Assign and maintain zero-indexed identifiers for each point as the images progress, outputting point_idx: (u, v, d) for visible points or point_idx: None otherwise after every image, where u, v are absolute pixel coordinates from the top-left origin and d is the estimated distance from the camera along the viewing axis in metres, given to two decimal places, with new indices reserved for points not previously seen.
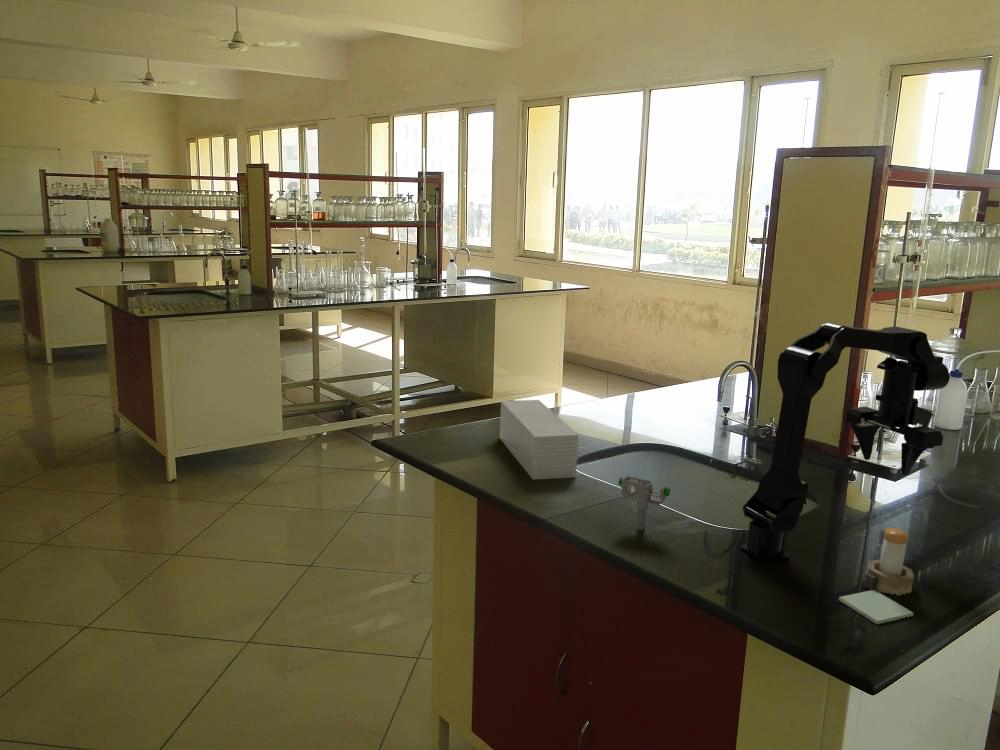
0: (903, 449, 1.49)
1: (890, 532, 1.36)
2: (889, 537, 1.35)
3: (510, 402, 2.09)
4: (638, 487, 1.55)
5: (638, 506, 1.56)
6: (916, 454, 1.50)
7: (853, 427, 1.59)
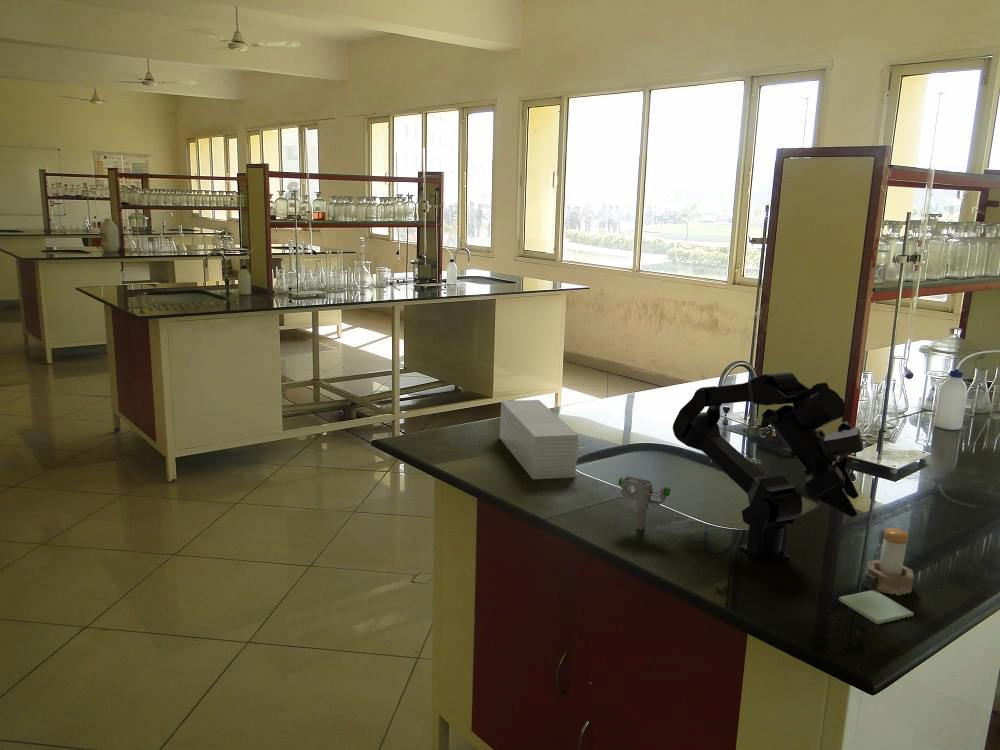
0: None
1: (890, 532, 1.36)
2: (889, 537, 1.35)
3: (510, 402, 2.09)
4: (638, 487, 1.55)
5: (638, 506, 1.56)
6: (840, 495, 1.34)
7: None
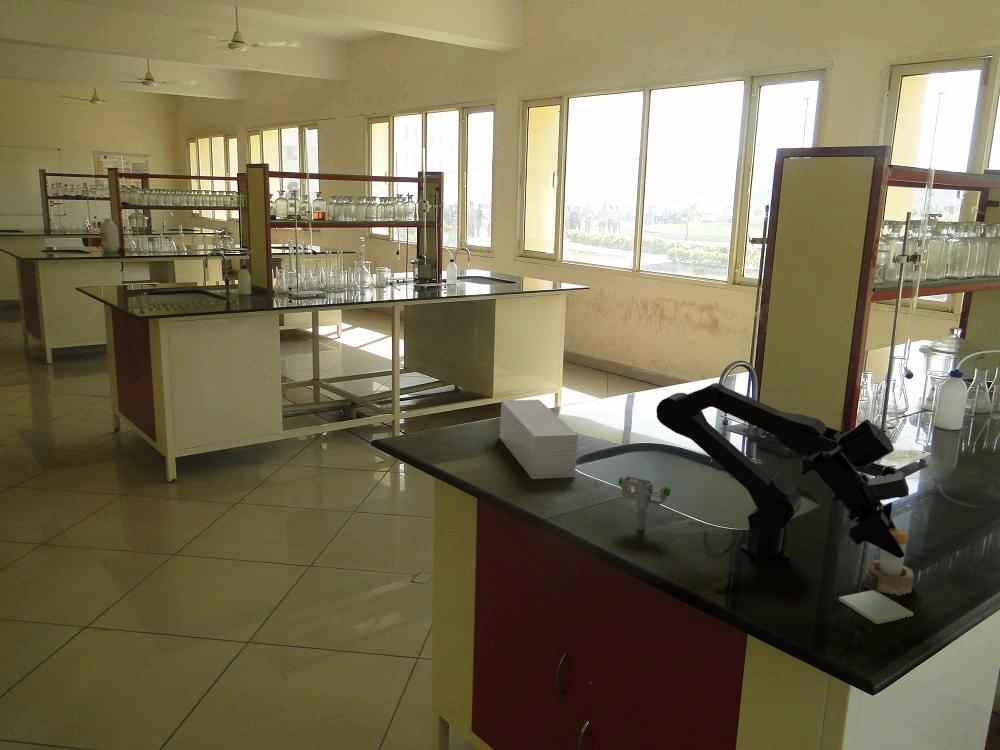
0: None
1: None
2: None
3: (510, 402, 2.09)
4: (638, 487, 1.55)
5: (638, 506, 1.56)
6: (887, 536, 1.34)
7: None
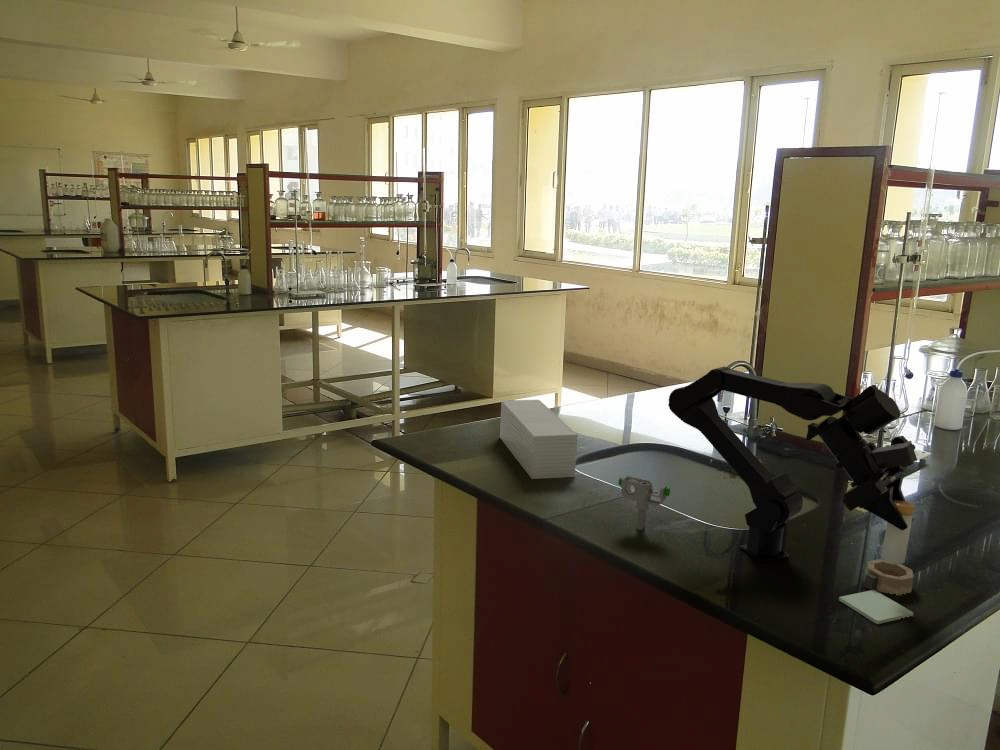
0: None
1: (895, 503, 1.31)
2: None
3: (510, 402, 2.09)
4: (638, 487, 1.55)
5: (638, 506, 1.56)
6: (888, 505, 1.29)
7: None
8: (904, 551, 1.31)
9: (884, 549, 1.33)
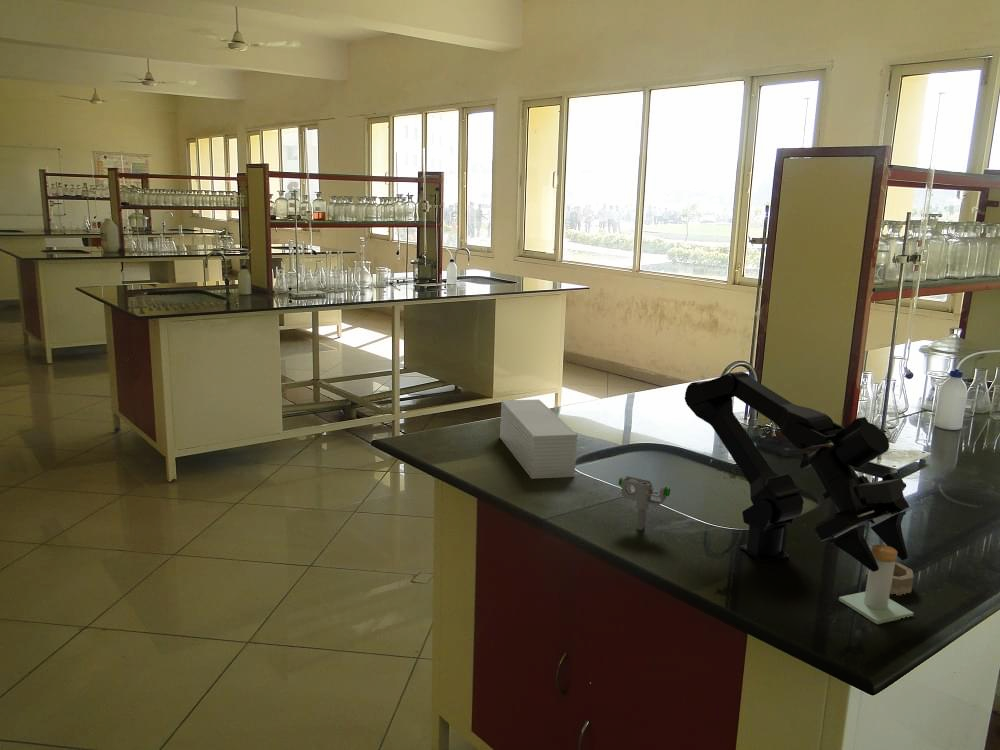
0: None
1: (876, 548, 1.28)
2: (872, 552, 1.27)
3: (510, 401, 2.09)
4: (638, 487, 1.55)
5: (638, 506, 1.56)
6: (858, 544, 1.25)
7: None
8: (884, 598, 1.27)
9: (865, 593, 1.30)
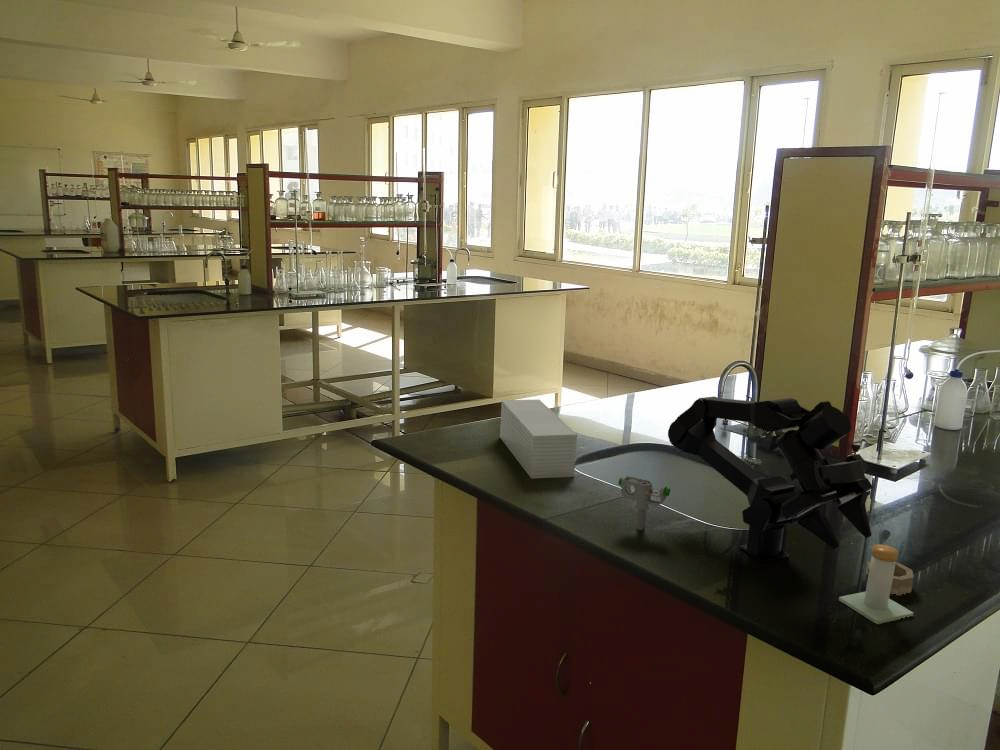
0: None
1: (877, 548, 1.28)
2: (873, 552, 1.27)
3: (510, 401, 2.09)
4: (638, 487, 1.55)
5: (638, 506, 1.56)
6: (820, 523, 1.30)
7: None
8: (884, 598, 1.28)
9: (865, 593, 1.30)
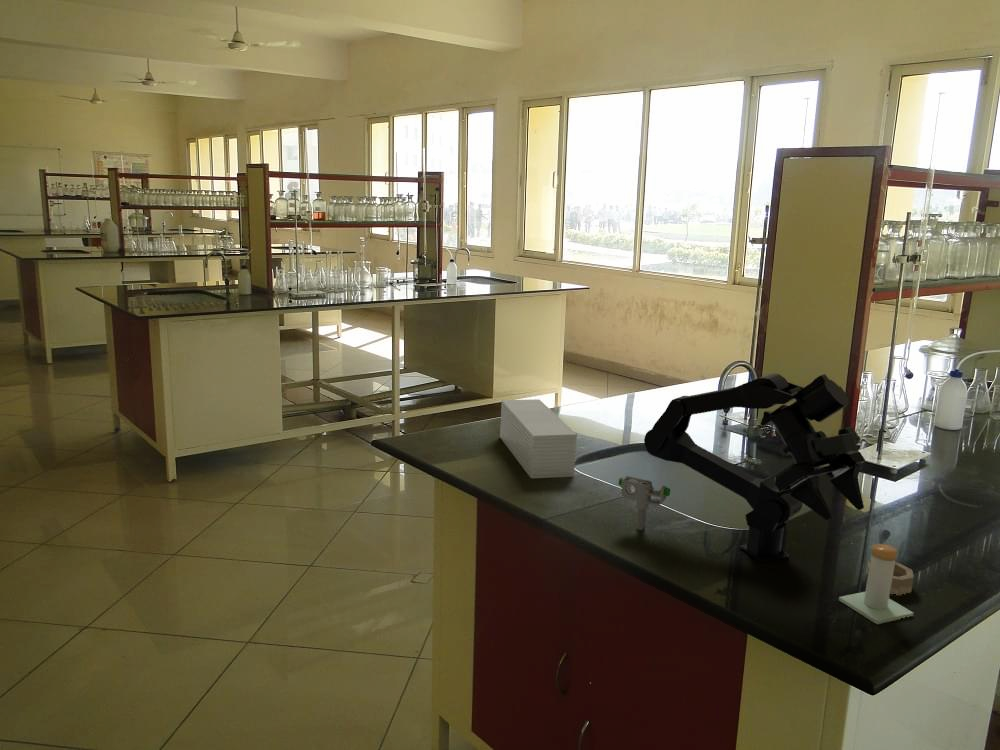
0: None
1: (876, 547, 1.28)
2: (873, 551, 1.28)
3: (510, 401, 2.10)
4: (638, 487, 1.55)
5: (638, 506, 1.56)
6: (813, 494, 1.32)
7: None
8: (884, 597, 1.28)
9: (865, 593, 1.30)
